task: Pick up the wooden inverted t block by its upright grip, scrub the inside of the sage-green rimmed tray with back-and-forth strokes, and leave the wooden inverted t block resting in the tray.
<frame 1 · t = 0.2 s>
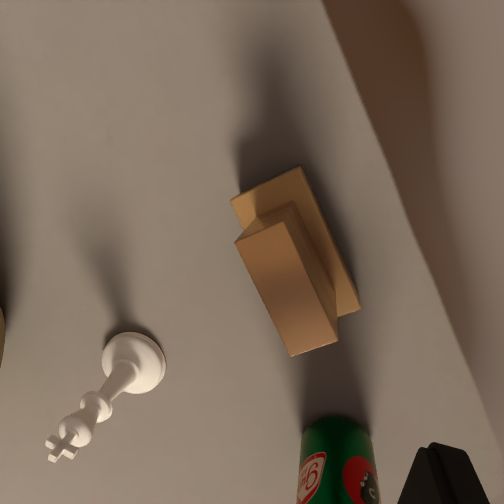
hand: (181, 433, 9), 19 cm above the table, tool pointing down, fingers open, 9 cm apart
chess piece: (136, 359, 31), on the table
wooden inverted t block: (299, 242, 27), on the table
soda can: (336, 439, 30), on the table
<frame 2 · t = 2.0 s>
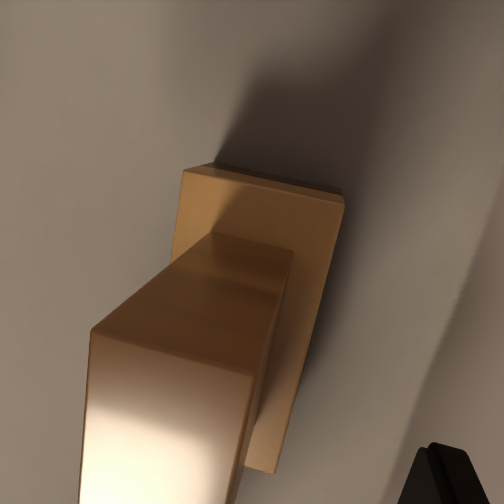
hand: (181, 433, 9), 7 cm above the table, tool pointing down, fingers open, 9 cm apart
wooden inverted t block: (251, 298, 15), on the table
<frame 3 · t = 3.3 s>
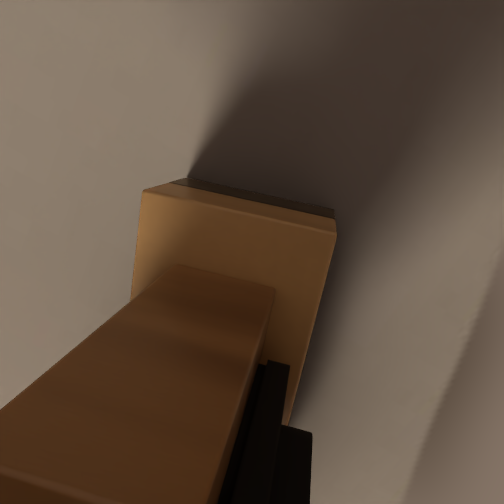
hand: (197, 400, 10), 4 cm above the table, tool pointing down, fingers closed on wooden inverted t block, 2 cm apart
wooden inverted t block: (231, 332, 13), on the table, touching gripper
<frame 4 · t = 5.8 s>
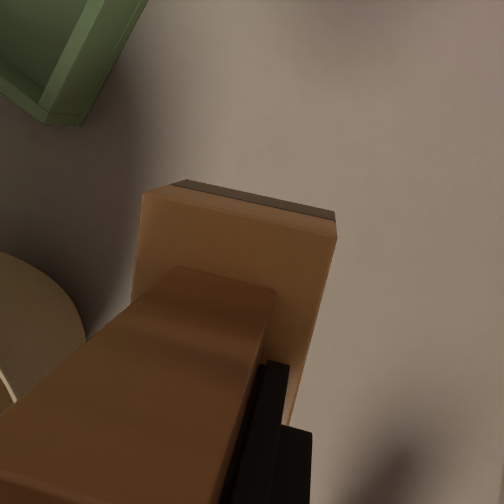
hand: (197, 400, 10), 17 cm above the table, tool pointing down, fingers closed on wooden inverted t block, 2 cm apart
tan bowl: (34, 320, 31), on the table
wooden inverted t block: (231, 333, 13), point 14 cm above the table, touching gripper
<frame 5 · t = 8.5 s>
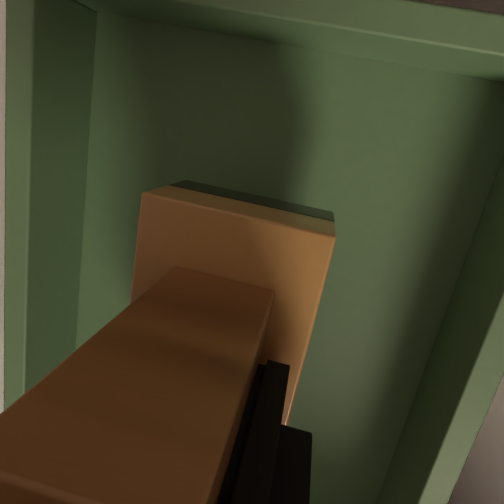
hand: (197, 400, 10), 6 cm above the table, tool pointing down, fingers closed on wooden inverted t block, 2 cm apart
wooden inverted t block: (230, 334, 13), point 3 cm above the table, touching gripper
tray: (251, 295, 16), on the table
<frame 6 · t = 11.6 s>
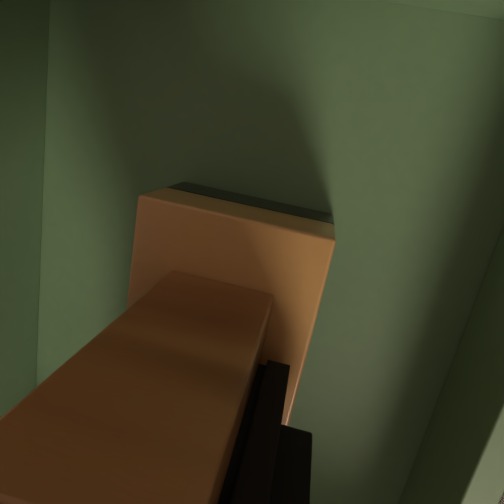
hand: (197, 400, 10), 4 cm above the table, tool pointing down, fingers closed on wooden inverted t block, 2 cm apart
wooden inverted t block: (229, 337, 13), point 1 cm above the table, touching gripper
tray: (241, 292, 13), on the table
when the fingers open (4 cm above the table, at t = 13.7 s): wooden inverted t block stays where it is, resting on tray.
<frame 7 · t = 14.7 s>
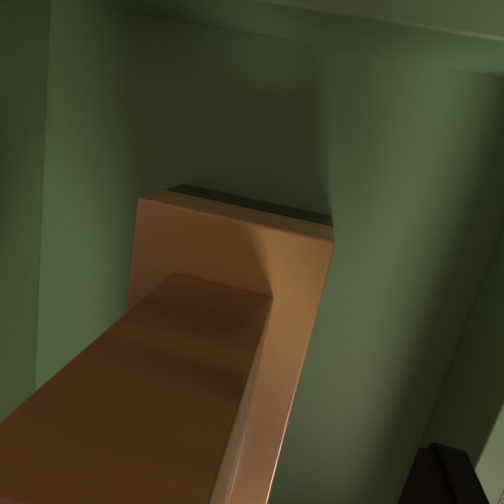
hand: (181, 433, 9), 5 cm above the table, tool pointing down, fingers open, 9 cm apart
wooden inverted t block: (229, 339, 13), point 1 cm above the table, touching tray
tray: (234, 324, 14), on the table
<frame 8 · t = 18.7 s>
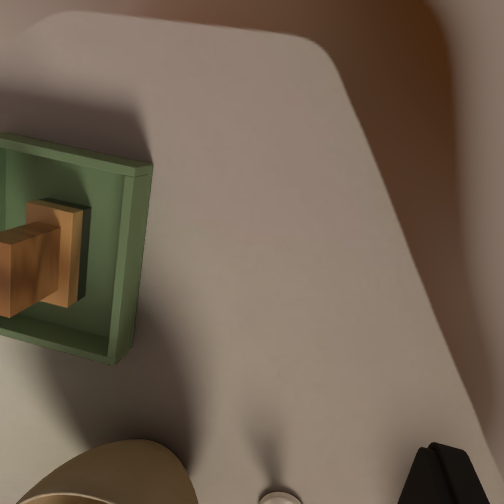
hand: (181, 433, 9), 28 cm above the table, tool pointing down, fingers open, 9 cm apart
tan bowl: (150, 468, 46), on the table
wooden inverted t block: (67, 248, 39), point 1 cm above the table, touching tray
tray: (72, 244, 40), on the table
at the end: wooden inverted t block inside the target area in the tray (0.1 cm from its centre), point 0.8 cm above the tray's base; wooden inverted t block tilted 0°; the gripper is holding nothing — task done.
